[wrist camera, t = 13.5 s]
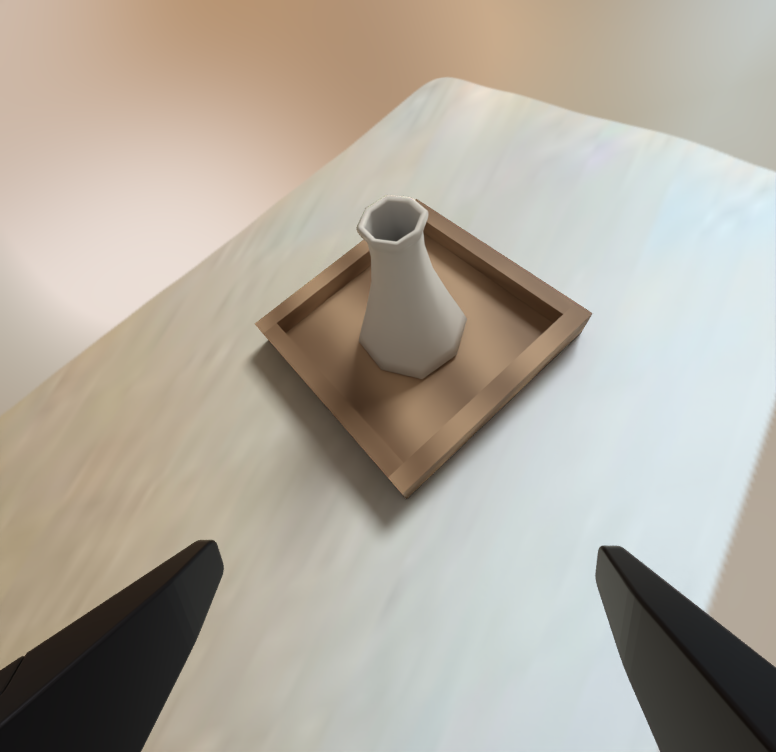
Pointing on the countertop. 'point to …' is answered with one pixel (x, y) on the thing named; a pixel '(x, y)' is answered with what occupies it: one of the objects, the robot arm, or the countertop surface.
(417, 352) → the flask
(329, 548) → the countertop surface
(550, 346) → the walnut tray
